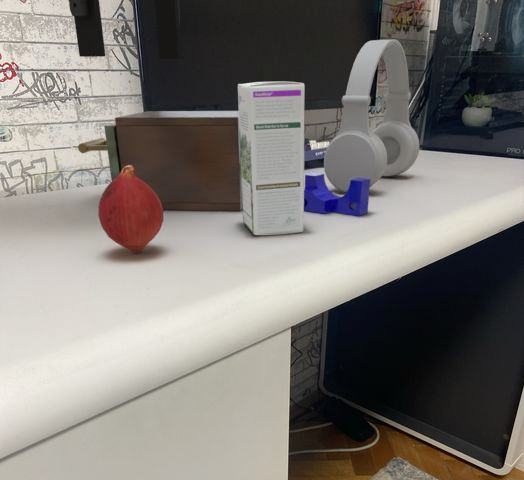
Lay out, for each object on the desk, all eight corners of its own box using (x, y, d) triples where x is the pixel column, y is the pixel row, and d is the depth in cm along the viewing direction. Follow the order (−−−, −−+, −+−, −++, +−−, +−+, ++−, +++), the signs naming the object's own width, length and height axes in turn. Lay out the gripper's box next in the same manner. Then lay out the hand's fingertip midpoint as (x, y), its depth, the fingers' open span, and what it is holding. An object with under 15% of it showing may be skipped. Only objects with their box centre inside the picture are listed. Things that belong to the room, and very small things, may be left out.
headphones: (369, 172, 92) (379, 44, 84) (417, 175, 88) (433, 41, 80) (320, 192, 77) (325, 37, 68) (375, 197, 73) (389, 34, 64)
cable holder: (297, 209, 67) (298, 176, 65) (313, 204, 70) (314, 172, 68) (352, 218, 63) (355, 183, 61) (367, 212, 65) (370, 178, 63)
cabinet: (126, 209, 68) (114, 117, 63) (154, 190, 80) (147, 111, 75) (240, 211, 67) (237, 117, 62) (253, 191, 78) (251, 110, 73)
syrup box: (305, 232, 57) (309, 81, 50) (251, 236, 56) (248, 82, 49) (289, 220, 62) (291, 80, 55) (240, 224, 61) (235, 81, 54)
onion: (110, 264, 48) (96, 172, 44) (100, 248, 53) (87, 163, 49) (173, 256, 50) (165, 167, 46) (158, 241, 55) (150, 159, 51)
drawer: (78, 200, 69) (66, 125, 65) (110, 184, 79) (101, 119, 75) (218, 201, 67) (214, 125, 63) (232, 185, 77) (230, 118, 73)
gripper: (34, -289, 38) (81, 54, 47) (214, -164, 58) (221, 59, 67) (-38, -264, 41) (20, 55, 50) (157, -153, 60) (171, 60, 70)
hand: (135, 58), depth 59 cm, fingers open, 13 cm apart
